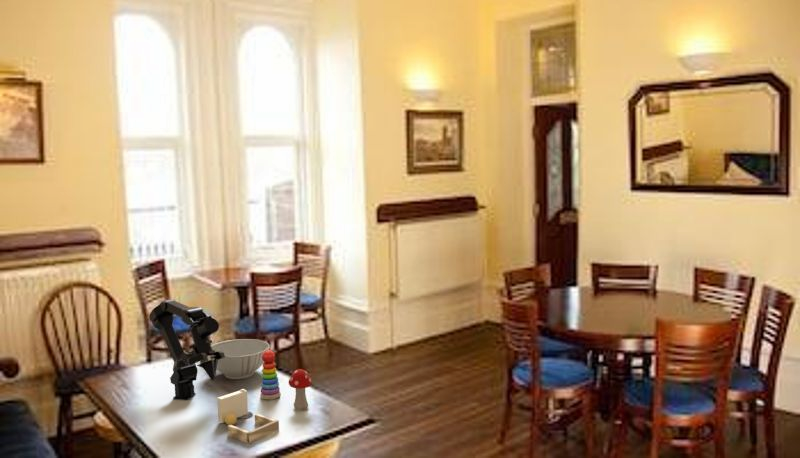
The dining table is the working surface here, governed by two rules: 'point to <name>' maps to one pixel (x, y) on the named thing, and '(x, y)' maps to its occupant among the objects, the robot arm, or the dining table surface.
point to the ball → (230, 419)
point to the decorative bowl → (240, 357)
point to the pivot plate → (246, 415)
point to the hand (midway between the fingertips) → (213, 379)
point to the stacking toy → (269, 377)
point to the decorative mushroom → (300, 388)
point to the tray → (266, 429)
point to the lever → (232, 405)
